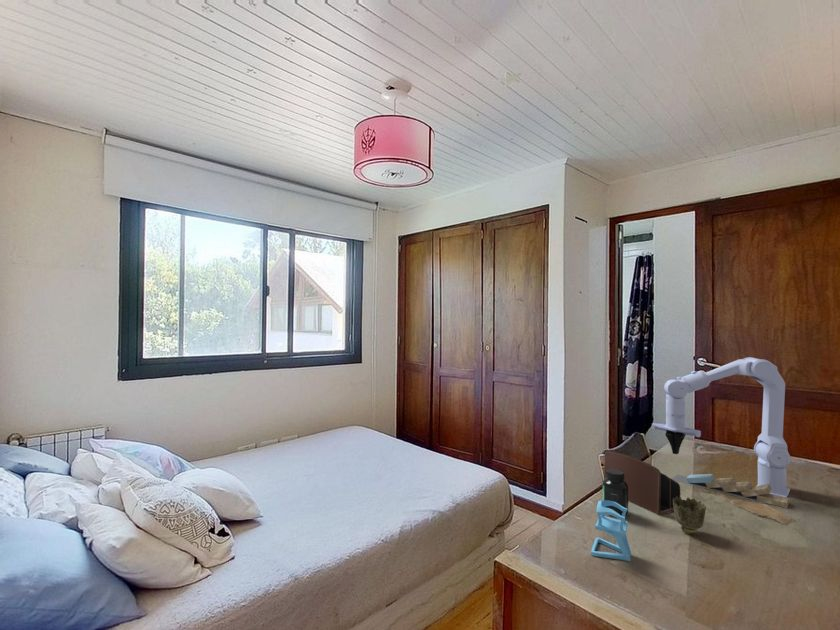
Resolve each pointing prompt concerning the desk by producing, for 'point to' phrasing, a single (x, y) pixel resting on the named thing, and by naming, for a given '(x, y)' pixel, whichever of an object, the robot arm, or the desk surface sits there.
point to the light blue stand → (612, 531)
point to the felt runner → (719, 489)
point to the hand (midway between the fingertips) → (675, 453)
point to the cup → (689, 514)
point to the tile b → (738, 487)
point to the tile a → (721, 483)
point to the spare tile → (700, 478)
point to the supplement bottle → (615, 490)
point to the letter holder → (644, 483)
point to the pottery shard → (763, 511)
